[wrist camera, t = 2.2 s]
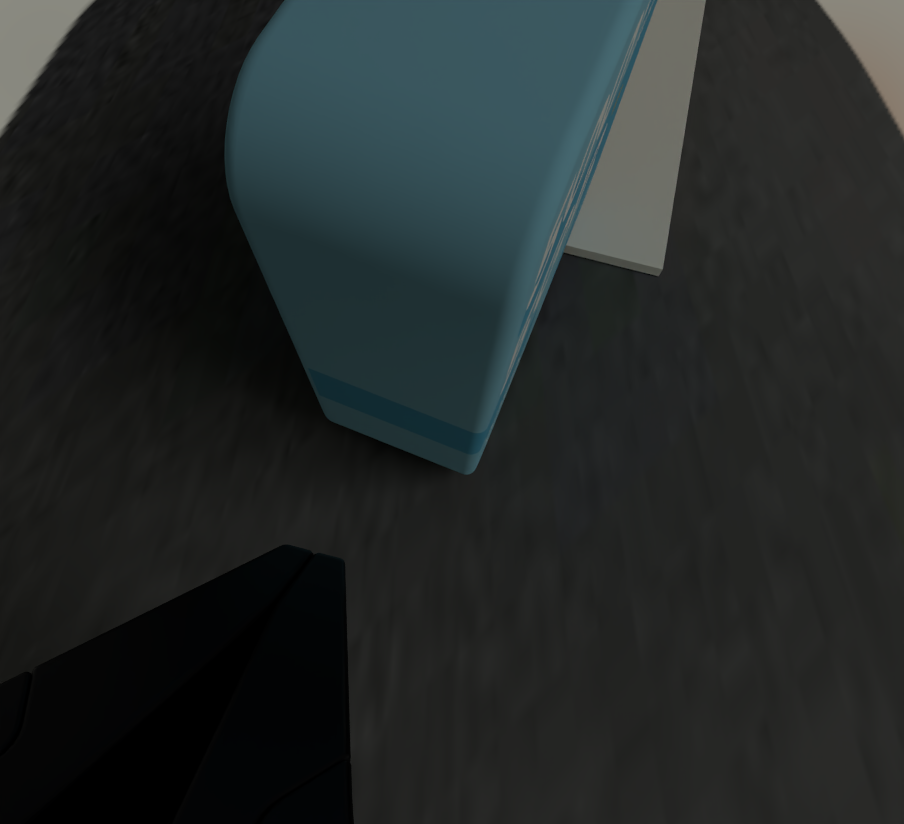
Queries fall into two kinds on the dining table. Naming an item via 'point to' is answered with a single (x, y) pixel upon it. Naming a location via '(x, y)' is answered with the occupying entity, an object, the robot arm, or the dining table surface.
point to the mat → (643, 148)
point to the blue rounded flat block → (421, 193)
